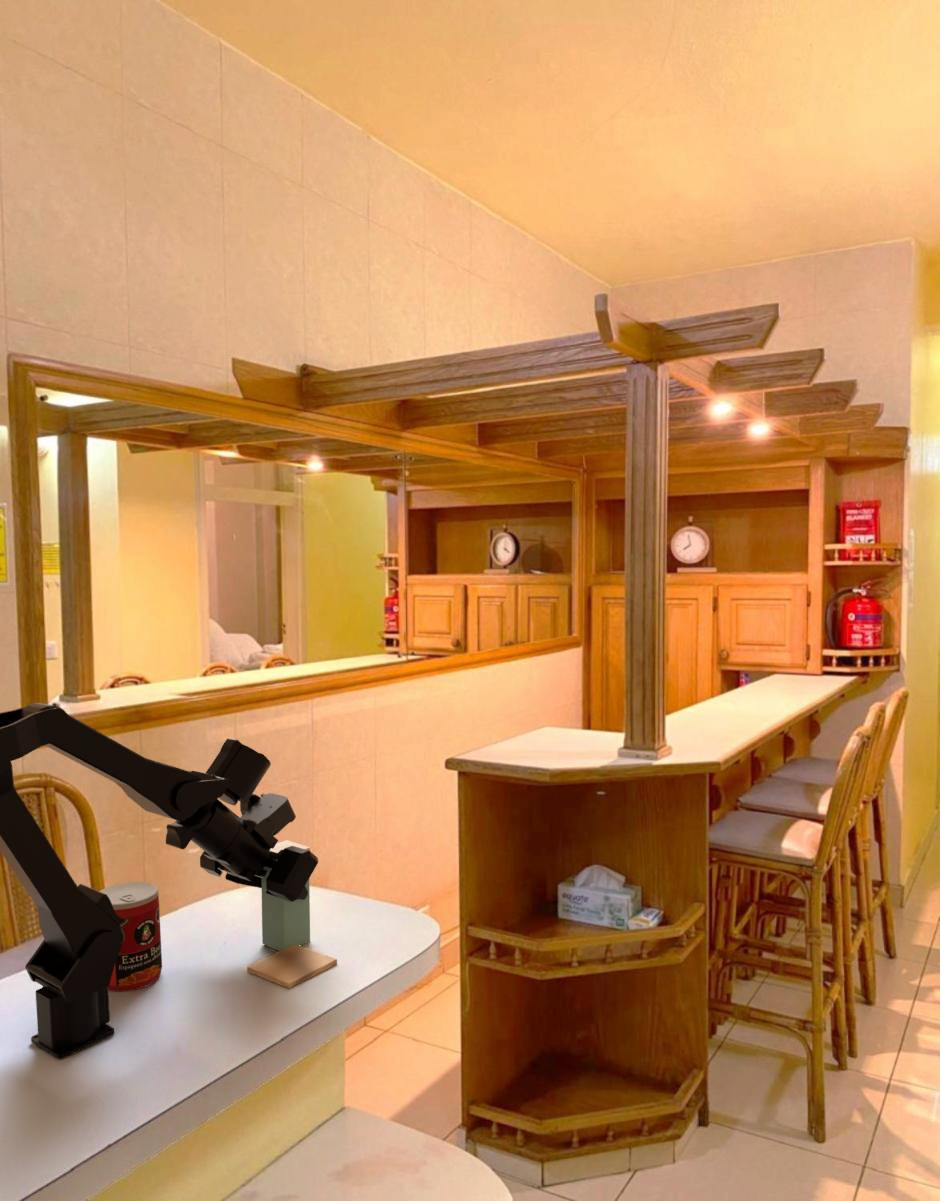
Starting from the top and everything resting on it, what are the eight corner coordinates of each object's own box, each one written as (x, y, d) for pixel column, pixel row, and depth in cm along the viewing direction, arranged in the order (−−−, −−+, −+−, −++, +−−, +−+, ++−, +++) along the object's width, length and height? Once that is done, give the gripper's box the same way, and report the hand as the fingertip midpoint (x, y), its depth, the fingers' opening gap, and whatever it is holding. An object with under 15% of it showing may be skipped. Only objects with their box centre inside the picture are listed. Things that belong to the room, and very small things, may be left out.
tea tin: (284, 953, 121) (282, 857, 120) (261, 943, 124) (259, 849, 123) (311, 941, 125) (309, 847, 124) (288, 931, 128) (286, 840, 127)
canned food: (121, 998, 110) (116, 909, 110) (85, 981, 115) (80, 895, 114) (175, 974, 116) (171, 889, 116) (139, 958, 121) (135, 877, 121)
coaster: (289, 988, 112) (289, 983, 111) (247, 971, 116) (246, 966, 116) (337, 963, 118) (336, 959, 118) (295, 948, 123) (294, 944, 123)
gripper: (303, 790, 114) (370, 852, 123) (214, 770, 126) (281, 828, 135) (254, 870, 108) (328, 929, 118) (166, 841, 120) (239, 897, 130)
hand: (294, 892), depth 125 cm, fingers closed on tea tin, 5 cm apart
